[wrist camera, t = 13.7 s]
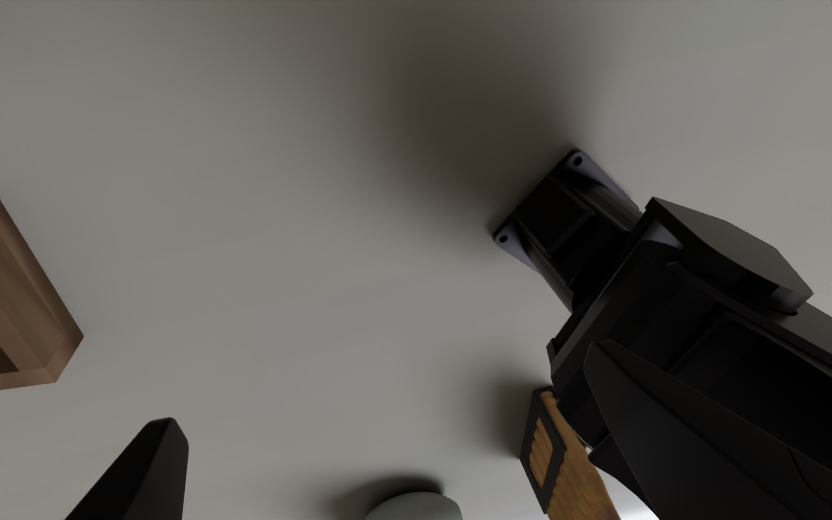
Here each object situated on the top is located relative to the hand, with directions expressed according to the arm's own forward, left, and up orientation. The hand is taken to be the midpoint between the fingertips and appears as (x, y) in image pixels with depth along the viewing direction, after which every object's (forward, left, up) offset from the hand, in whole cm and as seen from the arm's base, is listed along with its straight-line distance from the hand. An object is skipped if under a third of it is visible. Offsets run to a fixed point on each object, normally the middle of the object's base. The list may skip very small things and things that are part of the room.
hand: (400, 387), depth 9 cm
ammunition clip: (-27, +11, -13) cm, 32 cm away
